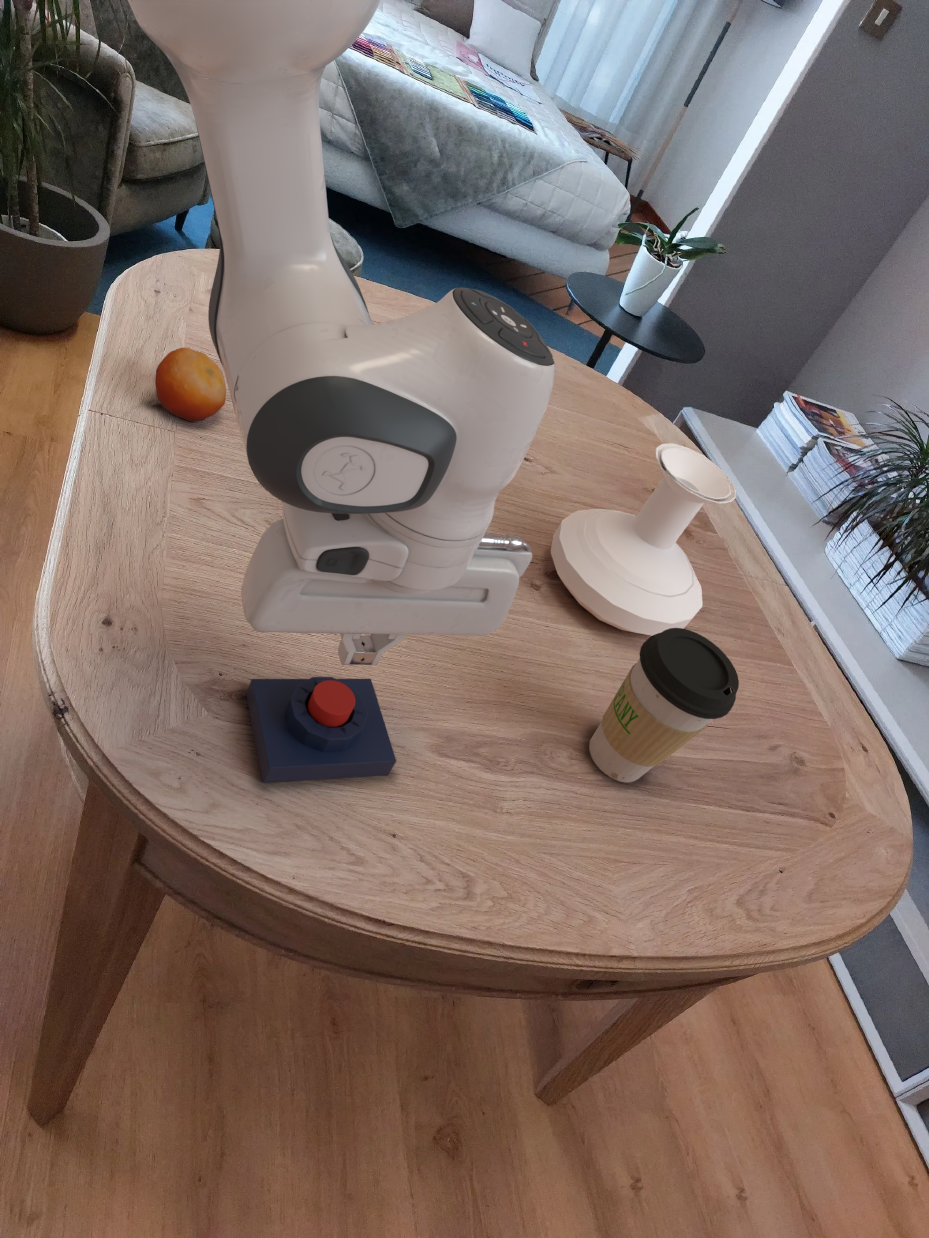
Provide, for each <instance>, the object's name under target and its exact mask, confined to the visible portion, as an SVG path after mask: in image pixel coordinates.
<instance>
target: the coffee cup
mask: <svg viewBox="0 0 929 1238" xmlns="http://www.w3.org/2000/svg"><path fill="white" fill-rule="evenodd" d="M739 686H740V681H739V675H738V673H737V670H736V668H735V666H734V663H732V661H731V659H730V658H729V657H728V656H727V654H726V653H724V652H723V651H722V649H721V648H720V647H718V646H717V645H716V644H715V643H713V642H712V641H711V640H710V639H709V638H707V637H705V636H703V635H701V634H700V633H698V632H695V631H693V630H690V629H686V628H684V629H683V628H669V629H667V630H664V631H663V632H661V633H658V634H655V635H653V636H651V635H650V637H648V638H647V639H646V640H645V641H644V642H643V643H642V645H641V647H640V649H639V658H638V660H637V662H636V663H634V664H633V665H632V666H631V668H630V670H629V672H628V673H627V675H626V676H625V678H624V680H623V682H622V683H621V685H620V686H619V689H618V690H617V692H616V693H615V695H614V697H613V698H612V699H611V702H610V704H609V705H608V707H607V708H606V710H605V712H604V714H603V716H602V718H601V721H600V722H599V725H598V727H597V728H596V730H595V732H594V733H593V734H592V736H591V738H590V740H589V742H588V743H589V744H588V749H589V754H590V757H591V759H592V761H593V763H594V764H595V765H596V767H597V768H598V770H600V771H601V772H602V773H603V774H604V775H606V776H607V777H609V778H611V779H613V780H615V781H616V782H617V781H618V782H621V783H632V782H635V781H637V780H639V779H640V778H641V777H642V776H644V775H646V773H648V772H649V771H650V770H651V769H653V768H654V767H655V766H658V765H660V764H661V763H663V762H664V761H665V760H666V759H668V758H669V757H671V756H672V755H673V754H674V753H676V752H677V751H678V750H679V749H681V748H682V747H683V746H684V745H686V744H687V743H688V742H689V741H691V740H692V739H693V738H695V737H696V736H697V735H698V734H699V733H702V731H704V730H705V729H706V728H707V726H709V723H711V722H712V721H714V720H716V719H717V720H718V719H722V718H723V717H725V716H727V715H728V714H729V713H730V711H731V710H732V708H733V707H734V705H735V702H736V700H737V699H736V698H737V693H738V690H739Z"/></svg>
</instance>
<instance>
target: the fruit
mask: <svg viewBox="0 0 929 1238" xmlns="http://www.w3.org/2000/svg"><path fill="white" fill-rule="evenodd" d="M154 381H155V393H156V400H155V401H153V402H151V403H150V406H154V405H161V406H162V407H163V408H164V409H166V410H167V411H168V412H169V413H170V414H171V415H174V416H176V417H178V418H181V419H183V420H185V421H188V422H191V423H196V422H203V421H204V420H207V419H209V418H210V417H212V416H214V415H215V414H216V413H218V412H219V411H220V410H221V409H222V408H223V406H225V404H226V398H227V397H226V396H227V386H226V380H225V375H224V374H223V371H222V369H221V368H220V367H219V366H218V364H217V363H216V362H215V361H214V360H212V359H211V358H210V357H209V356H208V355H207V354H206V353H204V352H202V351H198V350H195V349H192V348H189V347H180V348H177V349H174V350H172V351H169V352H168V353H167V354H166V355H165V356H164V358H163V359H162V360H161V361H160V362H159V364H158V365H157V366H156V369H155V379H154Z"/></svg>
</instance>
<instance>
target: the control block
mask: <svg viewBox="0 0 929 1238" xmlns="http://www.w3.org/2000/svg"><path fill="white" fill-rule="evenodd" d="M327 680H333V681H338V682H341V683H343V684H344V685H346V686H347V687H349V688H350V690H351V691H352V692H353V694H354V696H355V706H354V708H353V710H352V712H351V714H350V716H349V718H348V720H347V721H346V722H345V723H344V724H343V725H341V726H338V727H327V726H324V725H321V724H319V723H318V722H316V721H315V720H314V719H313V718H312V717H311V715H310V713H309V711H308V702H309V700H310V697H311V695H312V693H313V691H314V688H315V687H316V686H317V685H318V684H319V683H321V682H323V681H327ZM245 696H246V702H247V707H248V711H249V718H250V723H251V728H252V732H253V739H254V743H255V748H256V754H257V759H258V764H259V769H260V775H261V779H262V783H263V784H270V783H273V784H274V783H285V782H287V783H288V782H302V781H317V780H319V781H320V780H332V779H333V780H334V779H351V778H364V777H365V778H366V777H380V776H389V775H390V773H391V771H392V769H394V766H395V764H397V763H396V762H397V759H396V756H395V752H394V748H393V746H392V742H391V739H390V736H389V733H388V729H387V726H386V723H385V721H384V716H383V714H382V710H381V707H380V703H379V700H378V698H377V697H378V696H377V694H376V691H375V687H374V684H373V681H372V678H335V677H333V676H312V677H309V678H252V679H251V680H250V682H249V686H248V688H247V690H246V693H245Z"/></svg>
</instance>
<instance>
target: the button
mask: <svg viewBox="0 0 929 1238" xmlns="http://www.w3.org/2000/svg"><path fill="white" fill-rule="evenodd" d="M354 706H355V696H354V694H353V692H352V691H351V690H350V688H349V687H347V686H346V685H344V684H343V683H341V682H338V681H333V680H327V681H323V682H321V683H319V684H318V685H317V686H316V687H315V688H314V691H313V693H312V695H311V697H310V700H309V702H308V711H309V713H310V715H311V717H312V718H313V719H314V720H315V721H316V722H318V723H319V724H321V725H324V726H327V727H338V726H341V725H343V724H344V723H345V722H346V721H347V720H348V718H349V716H350V714H351V712H352V710H353V708H354Z"/></svg>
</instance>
